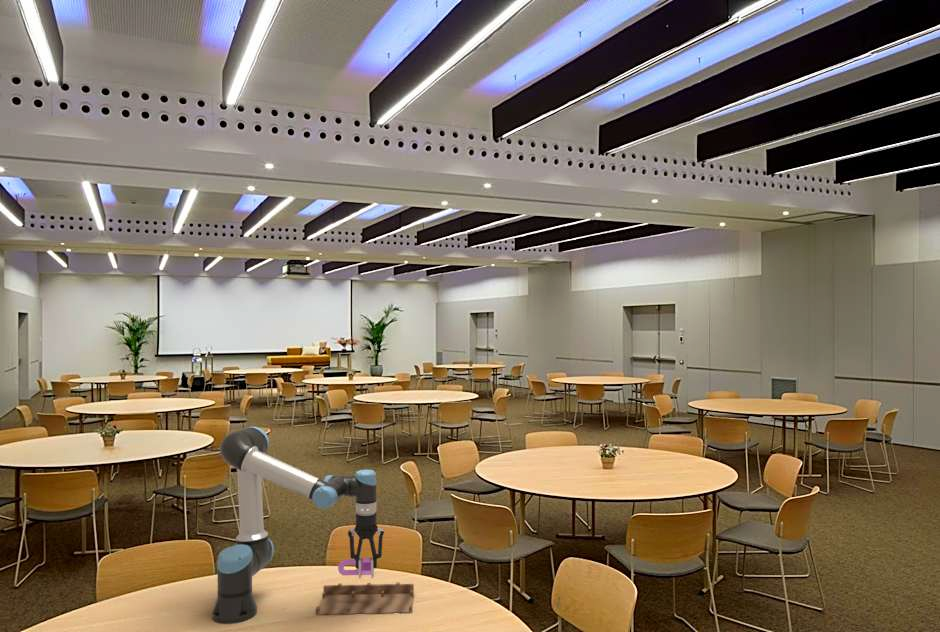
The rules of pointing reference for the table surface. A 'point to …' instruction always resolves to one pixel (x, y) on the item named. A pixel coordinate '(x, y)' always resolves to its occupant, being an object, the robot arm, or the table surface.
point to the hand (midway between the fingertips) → (366, 576)
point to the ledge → (366, 599)
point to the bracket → (365, 569)
